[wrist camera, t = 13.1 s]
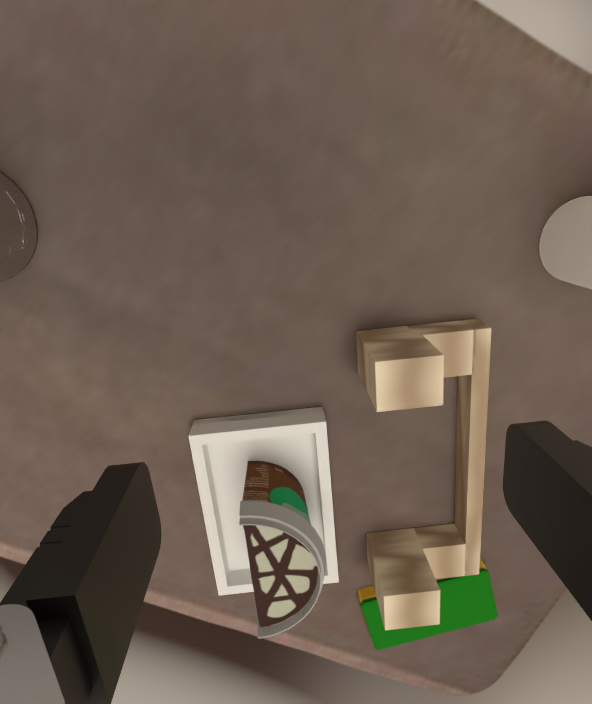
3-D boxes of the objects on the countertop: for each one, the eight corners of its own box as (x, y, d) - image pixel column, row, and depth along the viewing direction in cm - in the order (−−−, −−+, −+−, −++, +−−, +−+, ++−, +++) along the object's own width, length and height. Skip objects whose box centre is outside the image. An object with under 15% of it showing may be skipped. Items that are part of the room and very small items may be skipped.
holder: (367, 563, 49) (385, 630, 42) (356, 330, 41) (375, 361, 33) (467, 552, 49) (502, 617, 42) (476, 318, 41) (522, 346, 33)
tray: (221, 572, 49) (218, 595, 46) (194, 420, 43) (188, 436, 40) (334, 559, 49) (338, 582, 46) (322, 406, 43) (326, 421, 40)
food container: (321, 546, 47) (334, 634, 38) (261, 552, 47) (258, 643, 37) (311, 439, 43) (322, 509, 33) (245, 447, 43) (238, 518, 33)
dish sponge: (488, 600, 52) (498, 619, 50) (371, 632, 53) (376, 651, 51) (478, 553, 50) (488, 570, 48) (356, 586, 51) (360, 605, 49)
